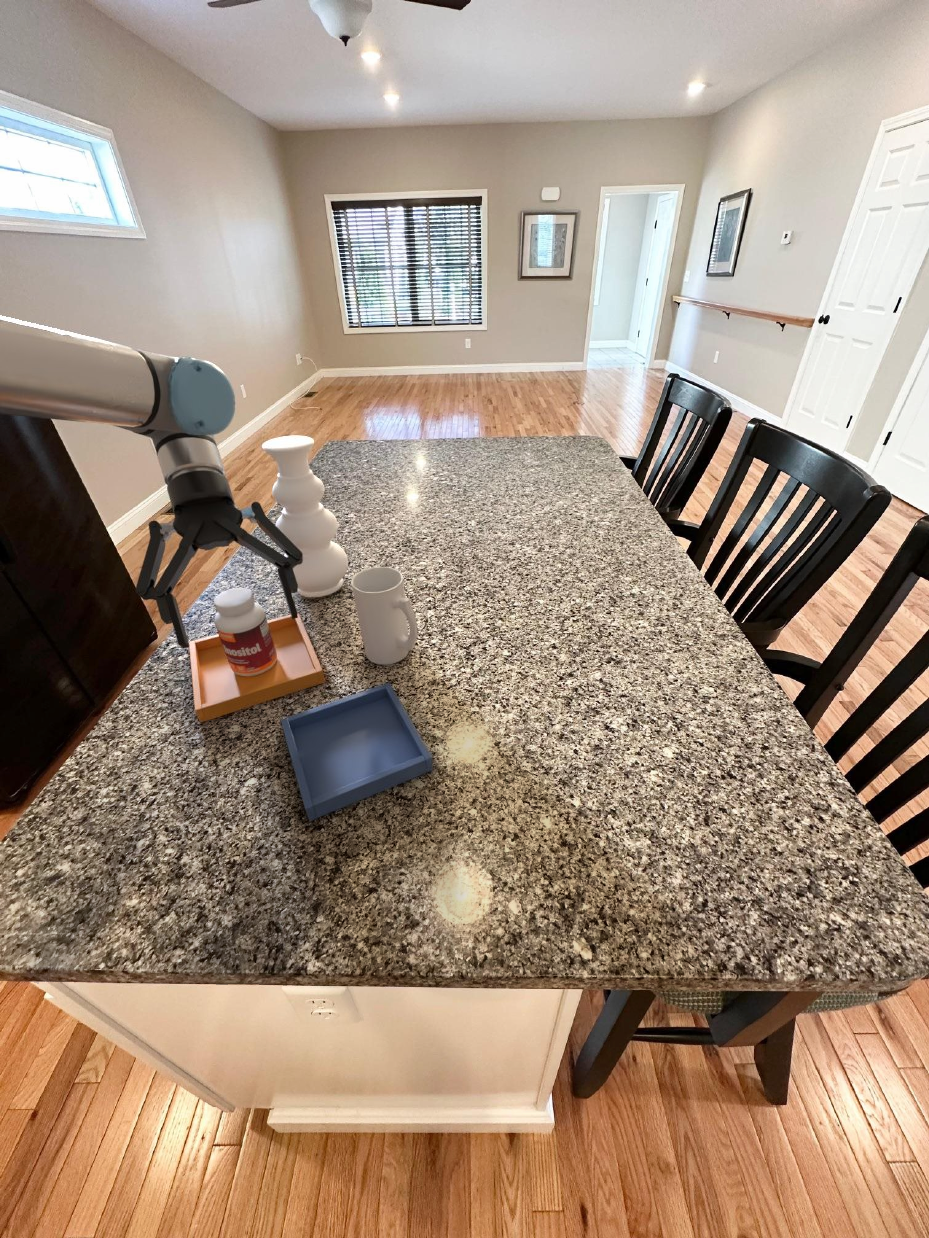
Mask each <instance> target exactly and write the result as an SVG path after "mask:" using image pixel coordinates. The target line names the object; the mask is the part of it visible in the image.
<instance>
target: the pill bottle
mask: <svg viewBox="0 0 929 1238" xmlns="http://www.w3.org/2000/svg"><path fill="white" fill-rule="evenodd" d="M213 599H214V600H213V605H214V608H215V611H216V614H215V616H214V621H213V623H214V626H215V629H216V631H217V634H219V637H220V640H221V642H222V645H223V648H224V651H225V654H226V656H227V659H228V662H229V664H230V667H231V669H232V671H233V672H234V673H236V674H237V675H240V676H255V675H258V674H261V673H264V672H266V671H267V670H269V669H270V668H272V667H273V665H274V664H275V662H276V660H277V653H276V649H275V646H274V642H273V639H272V636H271V632H270V629H269V626H268V622H267V621H268V619H267V615H266V612H265V610H264V608H263V606H262V605H261V604H259V603H258V602H256V599H255V595H254V593H253V591H252V590H251V589H249V588H247V587H233V588H232V587H231V588H229V589H226V590H224V591H222V592H220V593H218V594H217V595H216V596H215V598H213Z"/></svg>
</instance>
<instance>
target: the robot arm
mask: <svg viewBox="0 0 929 1238" xmlns="http://www.w3.org/2000/svg"><path fill="white" fill-rule="evenodd" d="M235 395H236V394H235V391H234V388H233V385H232V382H231V380H230V379H229V378H228V376H227V375H226V373H225V372H224V371H223V370H222V369H221V368H220V367H218V366H217V365H216V364H214V363H213V362H210V361H208V360H205V359H196V358H194V357H191V356H182V357H178V356H177V357H175V356H169V355H165V354H160V353H156V352H152V351H149V350H144V349H140V348H133V347H130V346H127V345H124V344H119V343H114V342H110V341H108V340H107V341H106V340H103V339H99V338H95V337H90V336H86V335H81V334H78V333H74V332H70V331H65V330H60V329H57V328H52V327H48V326H44V325H39V324H36V323H31V322H27V321H22V320H19V319H15V318H11V317H6V316H2V315H0V415H7V416H17V417H28V418H29V417H30V418H37V419H47V420H48V419H49V420H58V421H59V420H60V421H69V422H78V423H87V424H97V425H98V424H99V425H110V426H113V427H116V428H120V429H124V430H126V431H129V432H132V433H134V434H137V435H142V436H144V437H147V438H149V439H151V441H152V444H153V446H154V450H155V454H156V456H157V460H158V463H159V467H160V470H161V473H162V477H163V480H164V483H165V485H166V490H167V494H168V497H169V500H170V505H171V508H172V511H173V515H174V516H173V517H174V518H173V521H172V522H162V523H160V522H158V521H157V520H151V521H149V522H148V531H149V541H148V545H147V548H146V551H145V555H144V558H143V562H142V565H141V569H140V572H139V575H138V578H137V583H136V586H135V590H134V591H135V594H136V595H138V596H139V597H140V598H141V599H142V600H144V601H148V600H152V601H155V602H156V605H157V609H158V613H159V616H160V619H161V621H162V622H163V623H164V624H165V625H170V624H172V626H173V630H174V633H175V638H176V640H177V641H176V642H177V644H178V646H179V647H181V648H182V649H187V648H189V647H190V646H189V642H190V641H189V639H188V635H187V632H186V628H185V625H184V622H183V618H182V614H181V610H180V607H179V604H178V600H177V598H176V597H175V596H174V594H173V591H174V590H175V587H177V584H178V582H179V581H180V579H181V577H182V576H183V574H184V572H185V570H186V569H187V566H188V565H189V564H190V562H191V560H192V559H193V558H194V557H195V556H196V554H197V552H198V551H199V550H204V551H205V552H207V551H210V550H213V549H215V548H219V547H220V548H225V547H229V546H230V545H231V544H233V542H234V543H236V544H238V545H239V546H241V547H244V548H246V549H248V550H249V551H250V552H253V554H255V555H258V556H259V557H260V558H262V559H264V560H266V561H267V562H268V563H270V564H272V565H273V566H275V567H276V568H277V575H278V579H279V582H280V585H281V588H282V592H283V595H284V598H285V601H286V604H287V607H288V610H289V615H290V614H291V617H292V619H294V618H298V613H299V612H298V609H297V607H296V603H295V600H294V597H293V593H297V592H298V584H297V581H296V578H295V574H294V571H293V568H294V567H295V566H297V565H299V564H301V563H302V562H303V554H302V552H301V551H300V550H299V549H298V548H297V547H296V546H295V545H294V544H293V543H292V542H291V541H290V540H289V539H288V538H287V537H286V536H285V535H284V534H283V533H282V532H281V531H280V530H279V529H278V528H277V527H276V526H275V525H276V524H275V523H274V522H273V521H272V520H271V519H270V518H268V516H267V515H266V513H265V511H264V509H263V506H262V505H261V503H260V502H258V501H253V502H252V503H251V506H248V507H245V508H241V509H239V507H238V506H237V505H236V502H235V499H234V496H233V493H232V489H231V486H230V483H229V480H228V478H227V477H226V476H227V473H226V471H225V470H226V469H225V467H224V464H223V460H222V457H221V454H220V450H219V447H218V445H217V442H216V439H215V436H214V435H219V434H221V433H222V432H224V431H225V430H226V429H227V428H228V427H229V426H231V425H230V424H231V423H232V421H233V419H234V417H235V413H236V396H235ZM244 520H249V522H250V523H251V524H257V526H258V527H259V528H260V530H261V531H262V532H263V533H264V534H265V535H266V536H267V537H268V538H269V539H270V540H271V541H272V542H273V543H274V544H275V545H276V546H277V547H278V548H279V549H280V550H281V551H282V552H283V553H284V554H283V553H281V552H279V551H277V550H276V549H274V548H272V547H271V546H269V545H268V544H266V543H265V542H263V541H261V540H260V539H258V538H256V537H255V536H254V535H252V534H250V533H249V532H248V531H247V530H246V529H244V528H243V527H242V524H243V522H244ZM174 533H176V534H177V535H179V536H180V537H181V540H180V542H179V543H178V548H177V549H176V551H175V553H174V554H173V556H172V558H171V559H170V561H169V563H168V564H167V566H166V568H165V569H164V571H163V572H162V574H161V576H160V578H159V579H158V575H159V572H160V568H161V564H162V562H163V557H164V554H165V550H166V542H167V541H170V539H171V536H172V534H174ZM285 554H286V555H287V556H288V557H285V556H284V555H285ZM157 579H158V581H157Z"/></svg>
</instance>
